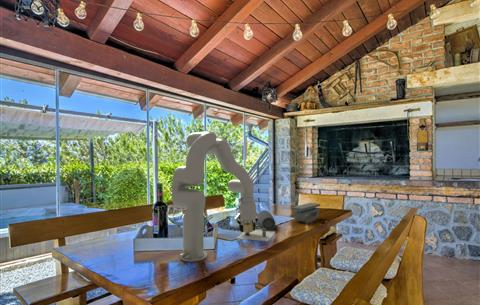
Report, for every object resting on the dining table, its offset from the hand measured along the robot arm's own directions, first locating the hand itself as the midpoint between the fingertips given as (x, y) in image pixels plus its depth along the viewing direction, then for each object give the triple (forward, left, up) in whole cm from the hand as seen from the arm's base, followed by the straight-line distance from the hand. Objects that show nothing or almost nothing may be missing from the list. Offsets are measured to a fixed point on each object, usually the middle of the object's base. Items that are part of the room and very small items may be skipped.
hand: (247, 230), depth 166 cm
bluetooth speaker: (+24, -5, -4) cm, 25 cm away
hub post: (0, 0, -2) cm, 2 cm away
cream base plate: (+2, -5, -4) cm, 7 cm away
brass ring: (0, 0, 0) cm, 0 cm away
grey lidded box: (+52, -27, -4) cm, 59 cm away
